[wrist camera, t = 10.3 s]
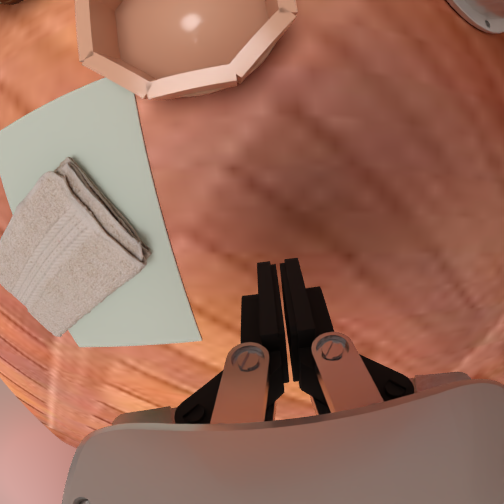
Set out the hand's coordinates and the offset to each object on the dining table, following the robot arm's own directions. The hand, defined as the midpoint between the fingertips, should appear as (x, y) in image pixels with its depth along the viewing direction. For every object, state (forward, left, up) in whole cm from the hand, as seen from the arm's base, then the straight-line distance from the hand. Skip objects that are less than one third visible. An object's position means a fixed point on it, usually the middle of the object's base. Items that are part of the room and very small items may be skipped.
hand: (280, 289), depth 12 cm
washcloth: (+2, -19, -12) cm, 23 cm away
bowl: (-15, -3, -12) cm, 19 cm away
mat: (+1, -16, -12) cm, 20 cm away
